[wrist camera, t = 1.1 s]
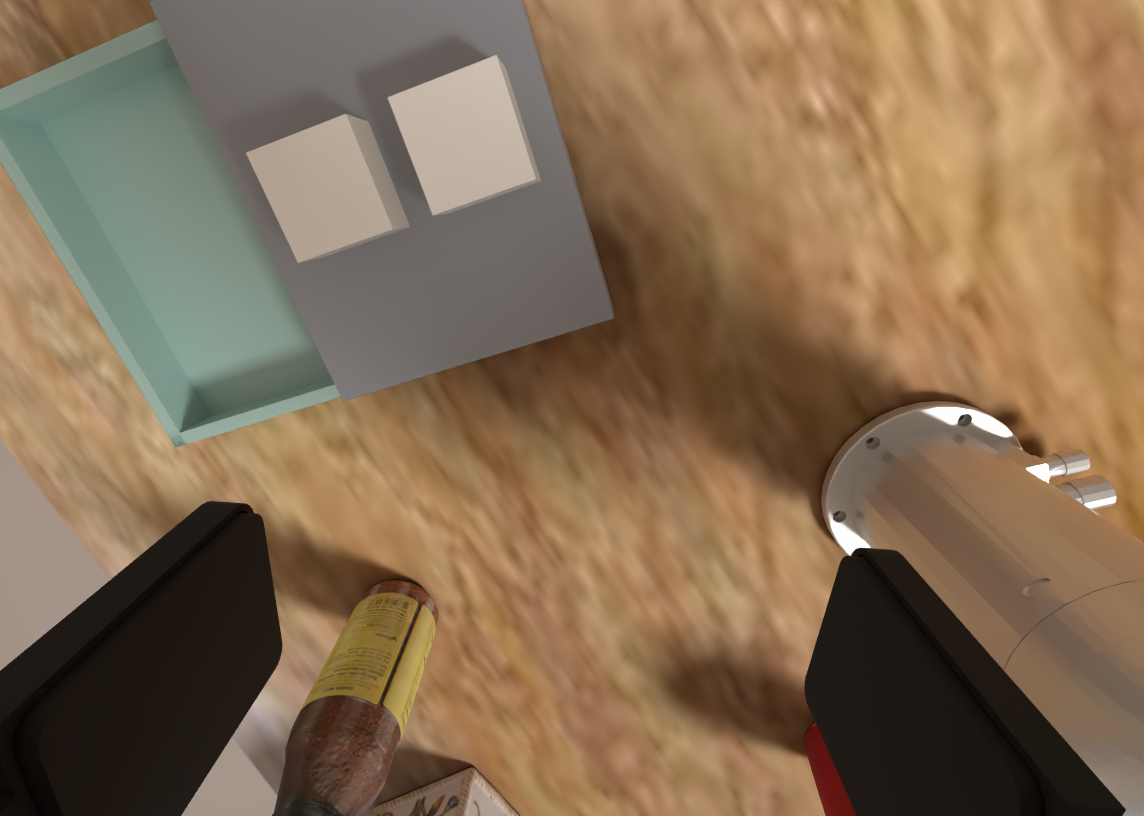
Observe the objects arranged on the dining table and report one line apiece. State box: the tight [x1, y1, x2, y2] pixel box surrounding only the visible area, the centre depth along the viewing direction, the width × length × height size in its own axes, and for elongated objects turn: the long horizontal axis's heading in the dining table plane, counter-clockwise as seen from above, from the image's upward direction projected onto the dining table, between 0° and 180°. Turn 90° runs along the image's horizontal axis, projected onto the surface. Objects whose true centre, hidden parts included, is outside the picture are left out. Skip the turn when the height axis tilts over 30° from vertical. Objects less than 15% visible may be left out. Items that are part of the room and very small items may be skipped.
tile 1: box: [246, 114, 410, 263], centre depth 26 cm, size 5×5×2 cm
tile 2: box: [388, 55, 541, 215], centre depth 25 cm, size 5×5×2 cm
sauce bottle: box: [272, 580, 438, 816], centre depth 33 cm, size 7×6×20 cm
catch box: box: [0, 20, 341, 447], centre depth 32 cm, size 12×20×4 cm, turn 18°
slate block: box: [149, 0, 614, 401], centre depth 29 cm, size 16×20×5 cm
